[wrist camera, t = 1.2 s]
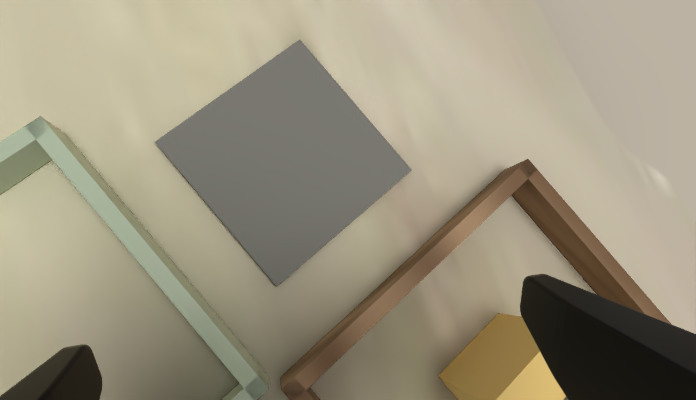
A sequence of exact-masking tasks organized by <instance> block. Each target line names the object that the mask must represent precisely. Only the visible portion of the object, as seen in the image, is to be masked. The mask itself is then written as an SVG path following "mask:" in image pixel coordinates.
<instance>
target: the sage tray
mask: <svg viewBox="0 0 696 400" xmlns="http://www.w3.org/2000/svg"><path fill="white" fill-rule="evenodd" d="M51 160H53V161H54V162H55V163H56V164H57V165H58V167H59V168H60V169H61V170H62V171H63V173H64V174H65V175H66V176H67V177H68V179H69V180H70V181H71V182H72V183H73V185H74V186H75V187H76V188H77V189H78V191H79V192H80V193H81V194H82V195H83V197H84V198H85V199H86V200H87V201H88V203H89V204H90V205H91V206H92V207H93V209H94V210H95V211H96V212H97V213H98V214H99V216H100V217H101V218H102V219H103V220H104V222H105V223H106V224H107V225H108V226H109V228H110V229H111V230H112V231H113V232H114V234H115V235H116V236H117V237H118V238H119V240H120V241H121V242H122V243H123V244H124V246H125V247H126V248H127V249H128V250H129V252H130V253H131V254H132V255H133V256H134V257H135V259H136V260H137V261H138V262H139V263H140V265H141V266H142V267H143V268H144V269H145V271H146V272H147V273H148V274H149V275H150V277H151V278H152V279H153V280H154V281H155V283H156V284H157V285H158V286H159V287H160V289H161V290H162V291H163V292H164V293H165V295H166V296H167V297H168V298H169V299H170V301H171V302H172V303H173V304H174V305H175V306H176V308H177V309H178V310H179V311H180V312H181V314H182V315H183V316H184V317H185V318H186V320H187V321H188V322H189V323H190V324H191V326H192V327H193V328H194V329H195V330H196V332H197V333H198V334H199V335H200V336H201V338H202V339H203V340H204V341H205V342H206V344H207V345H208V346H209V347H210V348H211V350H212V351H213V352H214V353H215V354H216V355H217V357H218V358H219V359H220V360H221V361H222V363H223V364H224V365H225V366H226V367H227V369H228V370H229V371H230V372H231V373H232V375H233V376H234V377H235V378H236V379H237V381H238V382H239V384H238V385H237V386H236V387H235V388H234V389H233V390H231V391H230V392H229V393H228V394H227V395H226V396H225V397H224V398H223V399H222V400H258V399H259V398H260V397H261V396H262V395H263V394H264V393H265V392H266V391H268V390H269V376H268V375H267V374H266V372H265V371H264V370H263V369H262V368H261V367H260V365H259V364H258V363H257V362H256V361H255V359H254V358H253V357H252V356H251V355H250V353H249V352H248V351H247V350H246V349H245V347H244V346H243V345H242V344H241V343H240V341H239V340H238V339H237V338H236V337H235V336H234V334H233V333H232V332H231V331H230V330H229V328H228V327H227V326H226V325H225V324H224V322H223V321H222V320H221V319H220V318H219V316H218V315H217V314H216V313H215V312H214V310H213V309H212V308H211V307H210V306H209V305H208V303H207V302H206V301H205V300H204V299H203V297H202V296H201V295H200V294H199V293H198V291H197V290H196V289H195V288H194V287H193V285H192V284H191V283H190V282H189V281H188V280H187V278H186V277H185V276H184V275H183V274H182V272H181V271H180V270H179V269H178V268H177V266H176V265H175V264H174V263H173V262H172V260H171V259H170V258H169V257H168V256H167V254H166V253H165V252H164V251H163V250H162V249H161V247H160V246H159V245H158V244H157V243H156V241H155V240H154V239H153V238H152V237H151V235H150V234H149V233H148V232H147V231H146V229H145V228H144V227H143V226H142V225H141V223H140V222H139V221H138V220H137V219H136V218H135V216H134V215H133V214H132V213H131V212H130V210H129V209H128V208H127V207H126V206H125V204H124V203H123V202H122V201H121V200H120V198H119V197H118V196H117V195H116V194H115V192H114V191H113V190H112V189H111V188H110V187H109V185H108V184H107V183H106V182H105V181H104V179H103V178H102V177H101V176H100V175H99V173H98V172H97V171H96V170H95V169H94V167H93V166H92V165H91V164H90V163H89V162H88V160H87V159H86V158H85V157H84V156H83V154H82V153H81V152H80V151H79V150H78V148H77V147H76V146H75V145H74V144H73V142H72V141H71V140H70V139H69V138H68V136H67V135H66V134H65V133H64V132H62V131H61V130H60V129H58V128H57V127H55V126H54V125H52V124H51V123H49V122H48V121H46V120H45V119H44V118H42V117H41V116H40V117H38V118H37V119H35V120H34V121H32V122H31V123H29V124H28V125H26V126H24V127H23V128H21V129H20V130H18V131H17V132H15V133H14V134H12V135H10V136H9V137H7V138H6V139H4V140H3V141H1V142H0V194H2V193H3V192H5V191H6V190H8V189H9V188H11V187H12V186H14V185H15V184H17V183H18V182H20V181H21V180H23V179H24V178H26V177H27V176H29V175H30V174H31V173H33V172H34V171H36V170H37V169H39V168H40V167H42V166H43V165H45V164H46V163H48V162H49V161H51Z"/></svg>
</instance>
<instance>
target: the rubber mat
mask: <svg viewBox="0 0 696 400" xmlns="http://www.w3.org/2000/svg"><path fill="white" fill-rule="evenodd" d="M155 143H156V144H157V145H158V147H159V148H160V149H161V150H162V151H163V153H164V154H165V155H166V156H167V157H168V158H169V160H170V161H171V162H172V163H173V164H174V166H175V167H176V168H177V169H178V170H179V171H180V173H181V174H182V175H183V176H184V177H185V179H186V180H187V181H188V182H189V183H190V184H191V186H192V187H193V188H194V189H195V190H196V192H197V193H198V194H199V195H200V196H201V198H202V199H203V200H204V201H205V202H206V203H207V205H208V206H209V207H210V208H211V209H212V211H213V212H214V213H215V214H216V215H217V216H218V218H219V219H220V220H221V221H222V222H223V224H224V225H225V226H226V227H227V228H228V230H229V231H230V232H231V233H232V234H233V235H234V237H235V238H236V239H237V240H238V241H239V243H240V244H241V245H242V246H243V247H244V248H245V250H246V251H247V252H248V253H249V254H250V256H251V257H252V258H253V259H254V260H255V262H256V263H257V264H258V265H259V266H260V267H261V269H262V270H263V271H264V272H265V273H266V275H267V276H268V277H269V278H270V279H271V280H272V282H273V283H274V284H275V285H276V286H278V285H279V284H280V283H281V282H282V281H284V280H285V279H286V278H287V277H288V276H289V275H291V274H292V273H293V272H294V271H295V270H296V269H298V268H299V267H300V266H301V265H302V264H303V263H305V262H306V261H307V260H308V259H309V258H310V257H311V256H313V255H314V254H315V253H316V252H317V251H318V250H320V249H321V248H322V247H323V246H324V245H325V244H327V243H328V242H329V241H330V240H331V239H332V238H334V237H335V236H336V235H337V234H338V233H339V232H340V231H342V230H343V229H344V228H345V227H346V226H347V225H349V224H350V223H351V222H352V221H353V220H354V219H356V218H357V217H358V216H359V215H360V214H361V213H363V212H364V211H365V210H366V209H367V208H368V207H369V206H371V205H372V204H373V203H374V202H375V201H376V200H378V199H379V198H380V197H381V196H382V195H383V194H385V193H386V192H387V191H388V190H389V189H390V188H392V187H393V186H394V185H395V184H396V183H397V182H398V181H400V180H401V179H402V178H403V177H404V176H405V175H407V174H408V173H409V172H410V171H411V168H410V167H409V166H408V165H407V164H406V163H405V161H404V160H403V159H402V158H401V157H400V156H399V154H398V153H397V152H396V151H395V150H394V149H393V147H392V146H391V145H390V144H389V143H388V142H387V141H386V139H385V138H384V137H383V136H382V135H381V134H380V132H379V131H378V130H377V129H376V128H375V127H374V125H373V124H372V123H371V122H370V121H369V120H368V118H367V117H366V116H365V115H364V114H363V113H362V111H361V110H360V109H359V108H358V107H357V106H356V104H355V103H354V102H353V101H352V100H351V99H350V97H349V96H348V95H347V94H346V93H345V92H344V90H343V89H342V88H341V87H340V86H339V85H338V83H337V82H336V81H335V80H334V79H333V78H332V76H331V75H330V74H329V73H328V72H327V71H326V69H325V68H324V67H323V66H322V65H321V64H320V62H319V61H318V60H317V59H316V58H315V57H314V55H313V54H312V53H311V52H310V51H309V50H308V48H307V47H306V46H305V45H304V44H303V43H302V41H301V40H298V41H297V42H296V43H294V44H293V45H291V46H290V47H289V48H287V49H286V50H284V51H283V52H281V53H280V54H279V55H277V56H276V57H274V58H273V59H272V60H270V61H269V62H267V63H266V64H264V65H263V66H262V67H260V68H259V69H257V70H256V71H255V72H253V73H252V74H250V75H249V76H247V77H246V78H245V79H243V80H242V81H240V82H239V83H238V84H236V85H235V86H233V87H232V88H231V89H229V90H228V91H226V92H225V93H223V94H222V95H221V96H219V97H218V98H216V99H215V100H214V101H212V102H211V103H209V104H208V105H206V106H205V107H204V108H202V109H201V110H199V111H198V112H197V113H195V114H194V115H192V116H191V117H189V118H188V119H187V120H185V121H184V122H182V123H181V124H180V125H178V126H177V127H175V128H174V129H172V130H171V131H170V132H168V133H167V134H165V135H164V136H163V137H161V138H160V139H158V140H157V141H156V142H155Z"/></svg>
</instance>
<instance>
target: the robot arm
mask: <svg viewBox="0 0 696 400" xmlns="http://www.w3.org/2000/svg"><path fill="white" fill-rule="evenodd" d="M520 311H521V315H522V318H523V320H524V322H525V324H526V326H527V328H528V330H529V331H530V333H531V335H532V337H533V339H534V341H535V343H536V345H537V347H538V349H539V350H540V352H541V354H542V356H543V358H544V360H545V362H546V364H547V366H548V368H549V369H550V371H551V373H552V375H553V376H554V378H555V380H556V381H557V383H558V385H559V386H560V388H561V389H562V391H563V392H564V394H565V395H566V397H567V398H568V400H696V334H694V333H691V332H689V331H686V330H684V329H681V328H679V327H676V326H674V325H671V324H669V323H666V322H664V321H661V320H659V319H656V318H654V317H651V316H649V315H646V314H644V313H641V312H639V311H636V310H634V309H631V308H629V307H626V306H624V305H621V304H619V303H616V302H614V301H611V300H609V299H606V298H603V297H601V296H598V295H596V294H593V293H591V292H588V291H586V290H583V289H581V288H578V287H576V286H573V285H571V284H568V283H566V282H563V281H561V280H558V279H556V278H553V277H551V276H548V275H546V274H538V275H531V276H527V277H526V278H525V279H524V281H523V288H522V296H521V304H520ZM101 390H102V376H101V373H100V370H99V368H98V365H97V363H96V360H95V357H94V355H93V352H92V350H91V348H90V347H89V346H88V345H85V344H84V345H77V346H70V347H65V348H63V349H62V350H60V351H59V352H58V353H56V354H55V355H54V356H52V357H51V358H50V359H48V360H47V361H46V362H45V363H43V364H42V365H41V366H39V367H38V368H37V369H35V370H34V371H33V372H31V373H30V374H29V375H28V376H26V377H25V378H24V379H22V380H21V381H20V382H18V383H17V384H16V385H14V386H13V387H12V388H11V389H9V390H8V391H7V392H5V393H4V394H3V395H1V396H0V400H99V399H100V395H101Z"/></svg>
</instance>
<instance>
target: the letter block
mask: <svg viewBox="0 0 696 400" xmlns="http://www.w3.org/2000/svg"><path fill="white" fill-rule="evenodd" d="M439 377H440V379H441V380H442V381H443V382H444V383H445V385H446V386H447V387H448V388H449V389H450V390H451V392H452V393H453V394H454V395H455V396H456V397H457V399H458V400H568V398H567V397H566V395H565V394H564V392H563V391H562V389H561V388H560V386H559V385H558V383H557V381H556V380H555V378H554V376H553V375H552V373H551V371H550V369H549V368H548V366H547V364H546V362H545V360H544V358H543V356H542V354H541V352H540V350H539V349H538V347H537V345H536V343H535V341H534V339H533V337H532V335H531V333H530V331H529V330H528V328H527V326H526V324H525V322H524V320H523V318H522V317H519V316H513V315H506V314H500V313H498V314H497V315H496V317H495V318H494V319H493V320H492V321H491V322H490V323H489V324H488V325H487V326H486V327H485V328H484V329H483V330H482V331H481V332H480V333H479V334H478V335H477V336H476V337H475V338H474V339H473V340H472V341H471V342H470V343H469V344H468V346H467V347H466V348H465V349H464V350H463V351H462V352H461V353H460V354H459V355H458V356H457V357H456V358H455V359H454V360H453V361H452V362H451V363H450V364H449V365H448V366H447V367H446V368H445V369H444V370H443V371H442V372H441V373H440V374H439Z"/></svg>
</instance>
